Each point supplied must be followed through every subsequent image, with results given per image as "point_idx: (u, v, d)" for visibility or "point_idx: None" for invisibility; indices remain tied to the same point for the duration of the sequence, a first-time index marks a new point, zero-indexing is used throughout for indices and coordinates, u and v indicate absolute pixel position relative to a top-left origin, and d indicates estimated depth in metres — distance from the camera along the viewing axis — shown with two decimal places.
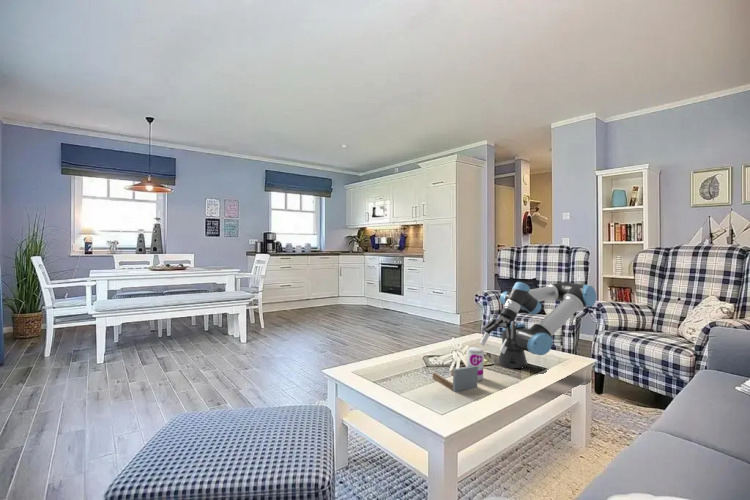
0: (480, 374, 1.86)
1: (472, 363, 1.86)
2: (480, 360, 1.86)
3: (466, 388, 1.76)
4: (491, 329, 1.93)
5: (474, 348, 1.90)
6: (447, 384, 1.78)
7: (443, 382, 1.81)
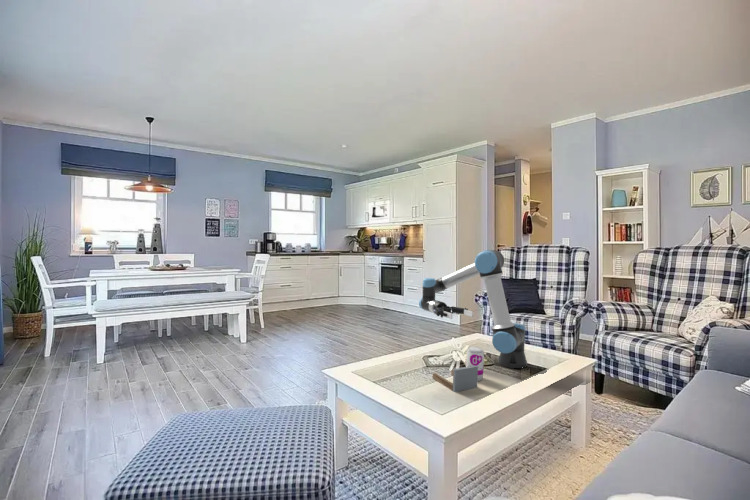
0: (480, 374, 1.86)
1: (472, 363, 1.86)
2: (480, 360, 1.86)
3: (466, 388, 1.76)
4: (459, 311, 2.09)
5: (474, 348, 1.90)
6: (447, 384, 1.78)
7: (443, 382, 1.81)
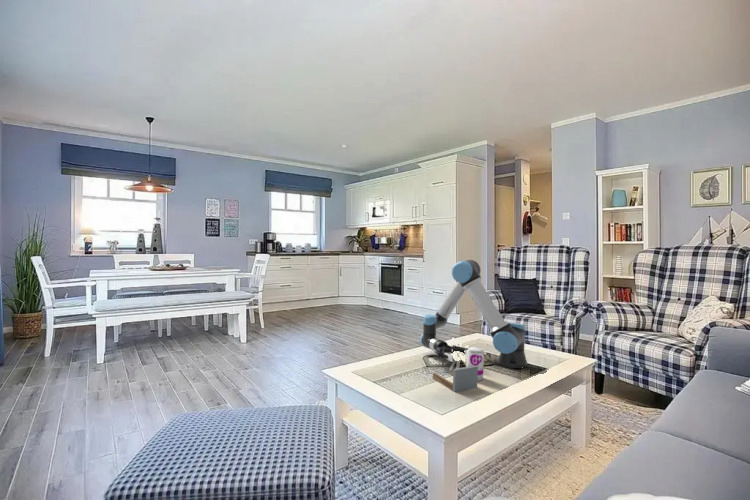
0: (480, 374, 1.86)
1: (472, 363, 1.86)
2: (480, 360, 1.86)
3: (466, 388, 1.76)
4: (460, 351, 2.08)
5: (474, 348, 1.90)
6: (447, 384, 1.78)
7: (443, 382, 1.81)
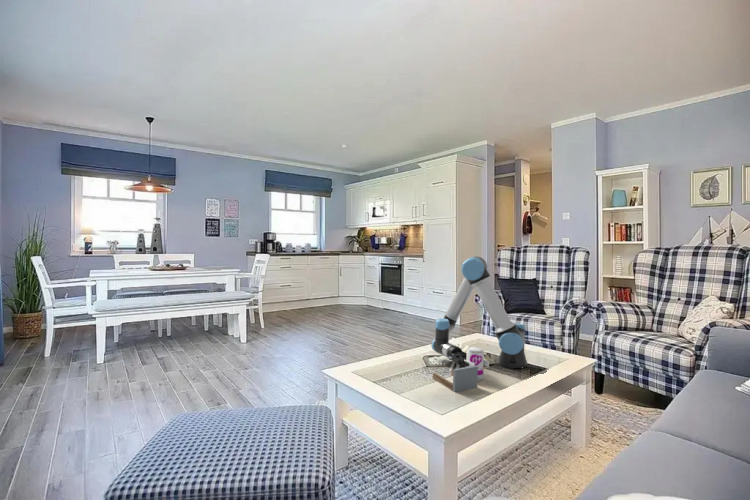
0: (480, 374, 1.86)
1: None
2: (480, 360, 1.86)
3: (466, 388, 1.76)
4: None
5: (474, 348, 1.90)
6: (447, 384, 1.78)
7: (443, 382, 1.81)
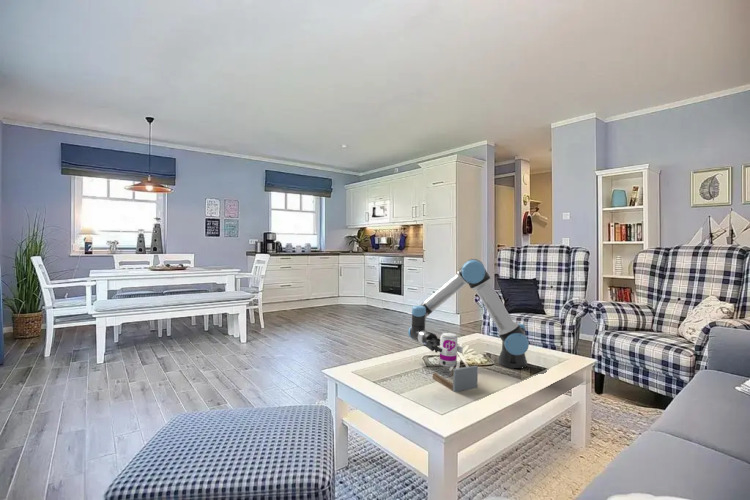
0: (453, 360, 1.84)
1: None
2: (453, 346, 1.83)
3: (466, 388, 1.76)
4: None
5: (448, 334, 1.88)
6: (447, 384, 1.78)
7: (443, 382, 1.81)
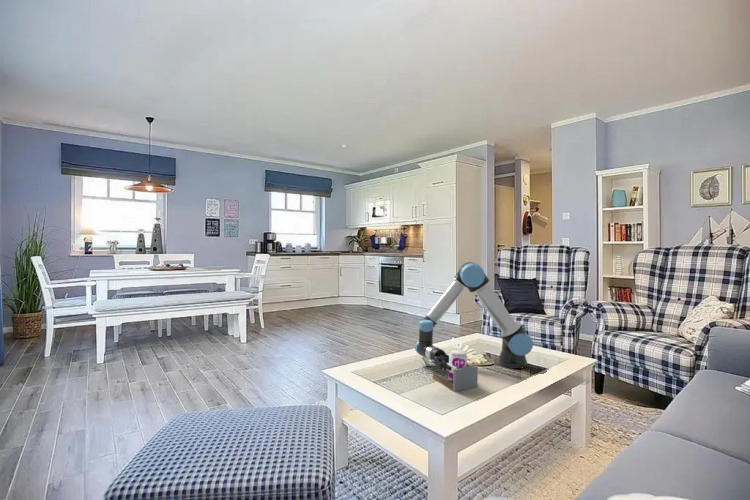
0: None
1: None
2: (463, 364, 1.77)
3: (466, 388, 1.76)
4: None
5: (457, 351, 1.82)
6: (447, 384, 1.78)
7: (443, 382, 1.81)
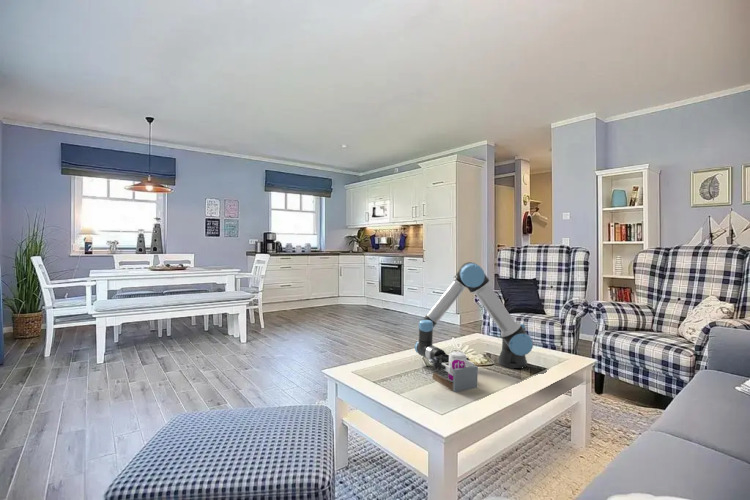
0: None
1: None
2: (462, 366, 1.77)
3: (466, 388, 1.76)
4: None
5: (457, 353, 1.82)
6: (447, 384, 1.78)
7: (443, 382, 1.81)
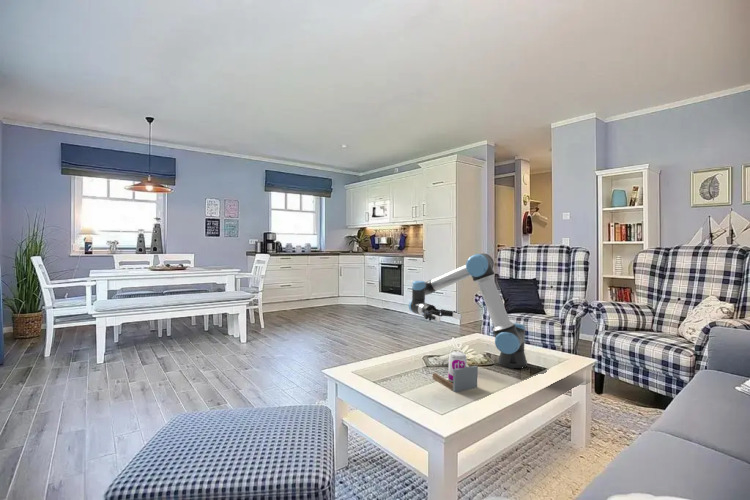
0: None
1: None
2: (462, 366, 1.77)
3: (466, 388, 1.76)
4: (448, 314, 2.08)
5: (457, 353, 1.82)
6: (447, 384, 1.78)
7: (443, 382, 1.81)
